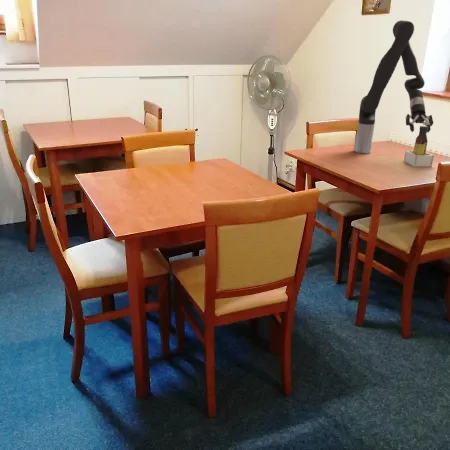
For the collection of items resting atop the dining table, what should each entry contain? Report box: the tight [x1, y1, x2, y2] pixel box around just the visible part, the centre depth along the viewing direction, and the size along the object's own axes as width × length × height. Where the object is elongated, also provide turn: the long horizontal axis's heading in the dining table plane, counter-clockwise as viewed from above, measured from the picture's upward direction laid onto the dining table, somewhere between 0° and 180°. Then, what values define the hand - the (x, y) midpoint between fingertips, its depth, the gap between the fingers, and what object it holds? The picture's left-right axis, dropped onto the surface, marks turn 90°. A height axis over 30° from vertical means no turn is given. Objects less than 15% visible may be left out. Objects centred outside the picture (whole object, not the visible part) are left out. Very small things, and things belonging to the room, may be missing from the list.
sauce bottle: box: [413, 125, 428, 155], centre depth 253 cm, size 6×6×20 cm
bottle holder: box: [403, 150, 435, 167], centre depth 256 cm, size 10×11×6 cm
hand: (420, 131), depth 253 cm, fingers open, 8 cm apart
